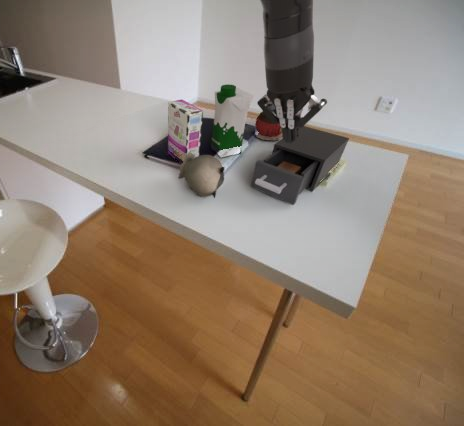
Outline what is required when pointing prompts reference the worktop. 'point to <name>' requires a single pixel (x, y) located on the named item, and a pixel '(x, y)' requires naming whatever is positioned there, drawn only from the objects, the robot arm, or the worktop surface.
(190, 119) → the candy bar box
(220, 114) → the milk carton
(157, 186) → the worktop surface
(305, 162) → the drawer
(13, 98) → the worktop surface
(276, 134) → the cake
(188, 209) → the worktop surface
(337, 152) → the cabinet
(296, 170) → the block
